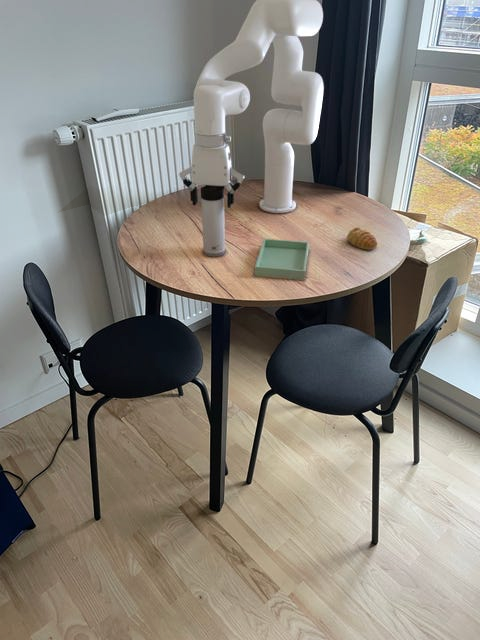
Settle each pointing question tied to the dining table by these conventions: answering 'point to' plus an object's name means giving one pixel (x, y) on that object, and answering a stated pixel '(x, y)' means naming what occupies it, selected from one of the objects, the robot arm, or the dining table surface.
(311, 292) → the dining table surface
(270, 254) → the tray
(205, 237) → the travel mug
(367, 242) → the pastry
